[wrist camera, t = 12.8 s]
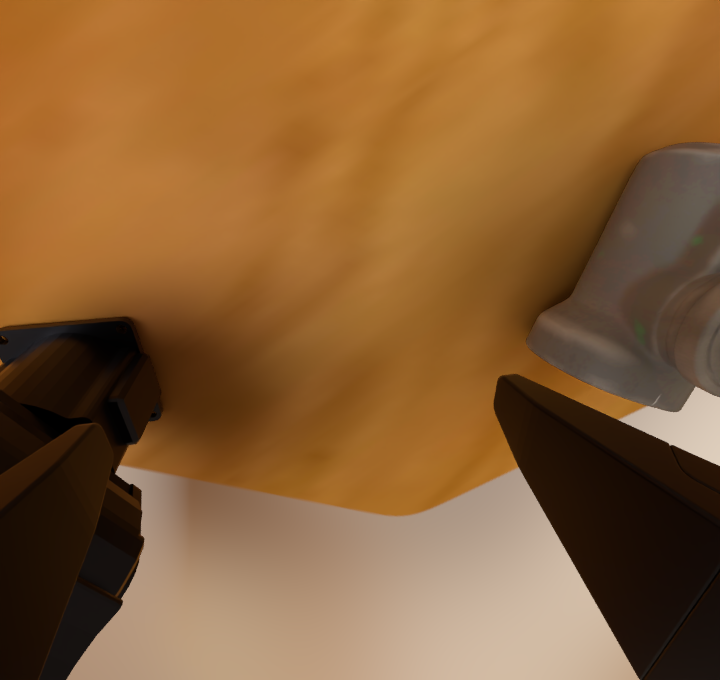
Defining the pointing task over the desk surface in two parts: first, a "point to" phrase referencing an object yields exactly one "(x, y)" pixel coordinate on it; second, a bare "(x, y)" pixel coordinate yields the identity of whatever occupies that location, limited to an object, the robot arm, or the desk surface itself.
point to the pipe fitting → (648, 288)
